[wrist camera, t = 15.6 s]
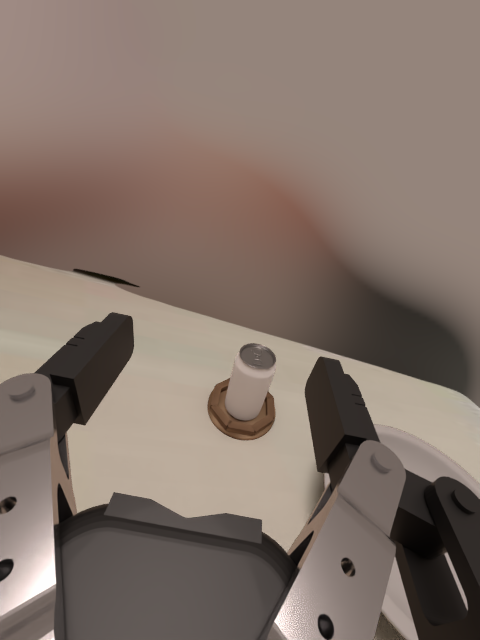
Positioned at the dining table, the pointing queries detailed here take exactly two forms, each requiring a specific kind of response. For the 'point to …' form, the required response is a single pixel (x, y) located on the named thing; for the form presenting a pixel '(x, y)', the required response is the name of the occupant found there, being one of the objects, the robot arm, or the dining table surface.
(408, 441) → the soup bowl
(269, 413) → the octagonal wooden coaster
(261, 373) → the can
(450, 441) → the dining table surface
